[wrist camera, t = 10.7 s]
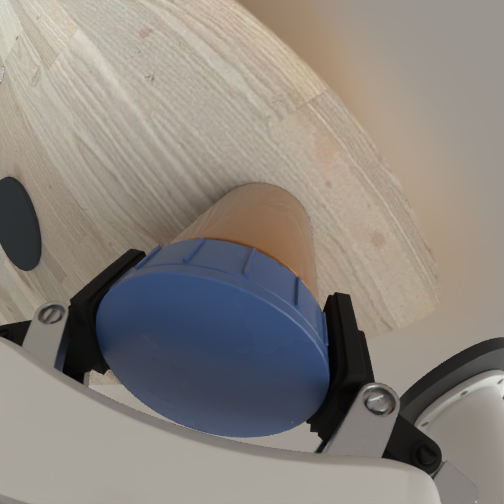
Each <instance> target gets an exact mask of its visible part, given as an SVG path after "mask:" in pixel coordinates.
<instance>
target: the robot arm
mask: <svg viewBox="0 0 504 504" xmlns="http://www.w3.org/2000/svg"><path fill="white" fill-rule="evenodd" d="M145 257H146V254H145V252H144V251H140V250H136V249H130V250H128V251H127V252H126V253H125V254H123V255H122V256H121V257H120V258H118V259H117V260H116V261H115V262H113V263H112V264H111V265H110V266H109V267H107V268H106V269H105V270H104V271H103V272H101V273H100V274H99V275H98V276H97V277H95V278H94V279H93V280H92V281H91V282H90V283H88V284H87V285H86V286H85V287H84V288H83V289H82V290H80V291H79V292H78V293H77V294H76V295H75V296H74V297H73V298H71V299H70V302H71V305H70V306H69V307H67V306H66V305H65V304H64V303H62V302H58V301H53V302H48V303H45V304H44V305H42V306H40V307H39V308H38V309H37V311H36V312H35V314H34V317H33V319H32V320H29V321H23V322H18V323H12V324H6V325H2V326H0V504H504V401H503V398H502V397H503V396H504V371H502V370H490V371H485V372H483V373H480V374H477V375H475V376H473V377H471V378H469V379H467V380H465V381H464V382H462V383H460V384H458V385H457V386H455V387H454V388H452V389H450V390H449V391H447V392H446V393H445V394H443V395H442V396H440V397H439V398H438V399H437V400H435V401H434V402H433V403H432V404H430V405H429V406H428V407H427V408H426V409H425V410H424V411H423V412H422V414H421V415H420V416H419V417H418V419H417V420H416V422H415V424H414V425H413V424H411V423H410V422H409V421H408V420H406V419H405V418H404V417H402V416H401V415H400V414H399V413H398V412H399V409H400V401H399V397H398V396H397V394H396V392H395V391H394V390H393V389H392V388H390V387H388V386H387V385H384V384H382V383H375V380H374V375H373V371H372V366H371V360H370V356H369V351H368V347H367V343H366V338H365V334H364V332H363V331H360V330H358V327H357V323H356V319H355V314H354V310H353V306H352V302H351V298H350V295H348V294H343V293H338V292H335V293H334V295H329V296H328V298H327V301H326V304H325V307H324V310H323V312H325V314H326V324H327V336H328V356H329V373H330V379H329V389H328V392H327V396H326V398H325V400H324V402H323V404H322V405H321V407H320V408H319V409H318V410H317V412H316V413H315V414H314V415H313V416H311V417H310V418H309V419H308V420H306V423H308V424H311V428H310V432H318V436H319V437H320V438H321V439H322V441H321V442H320V444H319V445H318V447H317V448H316V450H315V451H314V452H313V453H310V452H300V451H292V450H285V449H277V448H271V447H264V446H258V445H253V444H248V443H242V442H237V441H233V440H229V439H225V438H221V437H217V436H213V435H209V434H205V433H202V432H198V431H195V430H191V429H188V428H185V427H182V426H179V425H176V424H173V423H170V422H167V421H164V420H161V419H158V418H156V417H153V416H150V415H148V414H145V413H143V412H140V411H138V410H135V409H133V408H131V407H128V406H126V405H124V404H122V403H119V402H117V401H115V400H113V399H111V398H108V397H106V396H104V395H102V394H100V393H98V392H96V391H94V390H92V389H90V388H88V385H89V375H90V372H91V370H92V369H93V370H95V371H97V372H99V373H101V374H103V375H104V374H105V373H106V371H107V370H108V369H110V367H109V366H108V364H107V362H106V361H105V359H104V357H103V355H102V352H101V350H100V347H99V344H98V340H97V335H96V315H97V311H98V308H99V305H100V303H101V301H102V299H103V298H104V296H105V295H106V294H107V293H108V291H109V288H110V287H111V286H112V285H113V284H114V283H115V282H116V281H118V280H119V279H120V278H121V277H122V276H123V275H124V274H125V273H126V272H127V271H128V270H129V269H131V268H132V267H133V268H134V267H135V266H136V265H137V264H138V263H139V262H140V261H141V260H142V259H144V258H145ZM323 312H322V313H323Z"/></svg>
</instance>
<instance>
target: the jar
mask: <svg viewBox="0 0 504 504" xmlns="http://www.w3.org/2000/svg"><path fill="white" fill-rule="evenodd" d="M201 237H205V239H209V240H219V241H225V242H231V243H234V244H238V245H242V246H245V247H248V248H251V249H253V248H255V249H257V251H258V252H260V253H263V254H265V255H266V256H268V257H270V258H272V259H274V260H275V261H277V262H279V263H280V264H281V265H283V266H284V267H286V268H287V269H288V270H290V271H291V272H292V273H293V274H294V275H295V276H296V277H298V276H300V277H301V281H302V282H303V283H304V284H305V286H306V287H307V288H308V289H309V291H310V292H311V293H312V294H313V296H314V298H315V299H316V301H317V303H318V305H319V296H318V284H317V273H316V262H315V252H314V243H313V234H312V226H311V222H310V219H309V216H308V214H307V212H306V210H305V208H304V207H303V205H302V204H301V203H300V202H299V201H298V200H297V199H296V198H295V197H294V196H293V195H292V194H291V193H289V192H288V191H286V190H284V189H282V188H280V187H278V186H275V185H271V184H266V183H250V184H245V185H241V186H238V187H236V188H234V189H232V190H231V191H229V192H227V193H226V194H225V195H224V196H223V197H221V198H220V199H219V200H218V201H217V202H215V203H214V204H213V205H212V206H211V207H210V208H208V209H207V210H206V211H205V212H204V213H203V214H201V215H200V216H199V217H198V218H197V219H196V220H194V221H193V222H192V223H191V224H190V225H189V226H188V227H186V228H185V229H184V230H183V231H182V232H181V233H180V234H179V235H178V236H176V237H175V238H174V239H173V240H172V241H171V242H170V243H169V244H172V243H175V242H179V241H185V240H194V239H200V238H201Z"/></svg>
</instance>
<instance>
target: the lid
mask: <svg viewBox="0 0 504 504" xmlns="http://www.w3.org/2000/svg"><path fill="white" fill-rule="evenodd" d="M96 335H97V340H98V344H99V347H100V350H101V352H102V355H103V357H104V359H105V361H106V362H107V364H108V366H109V367H110V369H111V370H112V372H113V373H114V375H115V376H116V377H117V378H118V380H119V381H120V382H121V383H122V384H123V385H124V386H125V387H126V388H127V390H129V391H130V392H131V393H132V394H133V395H134V396H135V397H137V398H138V399H139V400H140V401H141V402H143V403H144V404H145V405H147V406H148V407H150V408H151V409H153V410H154V411H156V412H157V413H159V414H161V415H163V416H164V417H166V418H168V419H170V420H172V421H174V422H176V423H179V424H182V425H184V426H186V427H189V428H192V429H195V430H198V431H202V432H206V433H210V434H215V435H220V436H229V437H244V438H245V437H246V438H247V437H261V436H269V435H273V434H278V433H281V432H284V431H287V430H290V429H292V428H294V427H296V426H298V425H300V424H302V423H303V422H305V421H306V420H308V419H309V418H310V417H311V416H313V415H314V414H315V413H316V412H317V410H318V409H319V408H320V407H321V405H322V404H323V402H324V400H325V398H326V396H327V392H328V389H329V379H330V373H329V356H328V336H327V324H326V314H325V312H323V313H322V311H321V309H320V306H319V305H318V303H317V301H316V299H315V298H314V296H313V294H312V293H311V292H310V291H309V289H308V288H307V287H306V286H305V284H304V283H303V282H302V281H301V277H300V276H298V277H296V276H295V275H294V274H293V273H292V272H291V271H290V270H288V269H287V268H286V267H284V266H283V265H281V264H280V263H279V262H277V261H275V260H274V259H272V258H270V257H268V256H266V255H265V254H263V253H260V252H258V251H257V249H255V248H253V249H251V248H248V247H245V246H242V245H238V244H234V243H231V242H225V241H219V240H209V239H205V237H201V238H200V239H194V240H185V241H179V242H175V243H172V244H168V245H165V246H163V247H161V246H160V245H159V246H157V247H156V248H155V249H154V250H153V251H152V252H150V253H149V254H148V255H147V256H146V257H145V258H144V259H142V260H141V261H140V262H139V263H138V264H137V265H136V266H135V267H134V268H133V267H132V268H131V269H129V270H128V271H127V272H126V273H125V274H124V275H123V276H122V277H121V278H120V279H119V280H118V281H116V282H115V283H114V284H113V285H112V286H111V287H110V288H109V291H108V293H107V294H106V295H105V296H104V298H103V299H102V301H101V303H100V305H99V308H98V311H97V315H96Z"/></svg>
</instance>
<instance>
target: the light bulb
mask: <svg viewBox="0 0 504 504" xmlns="http://www.w3.org/2000/svg"><path fill="white" fill-rule="evenodd" d="M3 75H4V67H0V83H1V81H2V79H3Z"/></svg>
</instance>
